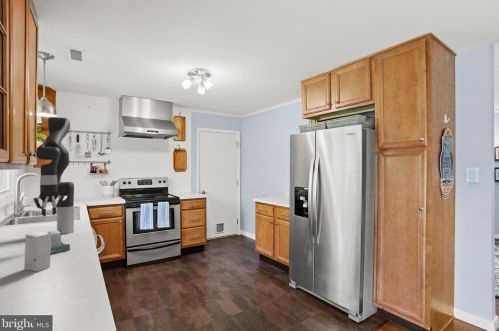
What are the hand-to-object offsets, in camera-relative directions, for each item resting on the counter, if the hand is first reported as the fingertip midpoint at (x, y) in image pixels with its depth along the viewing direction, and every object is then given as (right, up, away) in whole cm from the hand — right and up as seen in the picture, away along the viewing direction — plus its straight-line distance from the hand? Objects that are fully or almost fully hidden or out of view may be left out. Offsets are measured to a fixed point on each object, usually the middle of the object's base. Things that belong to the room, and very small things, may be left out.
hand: (49, 215), depth 144 cm
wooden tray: (+3, -17, -2) cm, 18 cm away
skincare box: (+18, -17, -30) cm, 39 cm away
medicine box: (+7, -17, -5) cm, 19 cm away
